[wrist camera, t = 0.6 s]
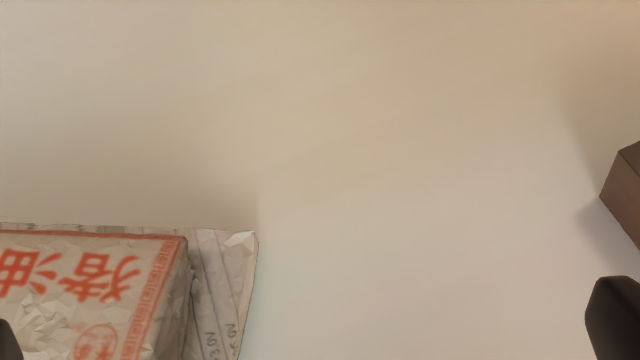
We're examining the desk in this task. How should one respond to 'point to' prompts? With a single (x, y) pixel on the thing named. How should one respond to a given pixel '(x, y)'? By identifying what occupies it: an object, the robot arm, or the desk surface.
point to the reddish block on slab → (126, 291)
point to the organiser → (625, 190)
